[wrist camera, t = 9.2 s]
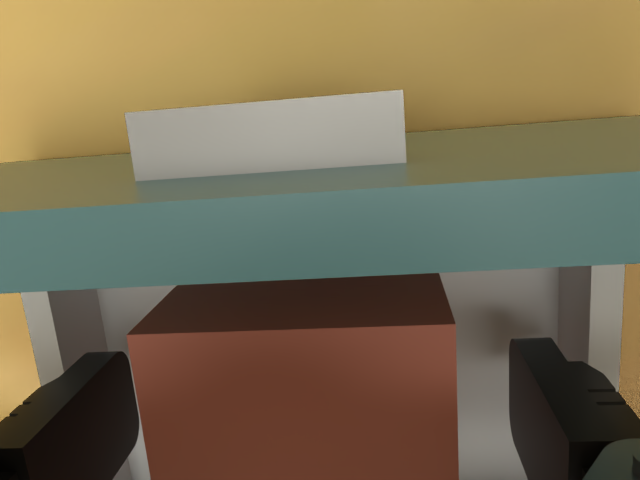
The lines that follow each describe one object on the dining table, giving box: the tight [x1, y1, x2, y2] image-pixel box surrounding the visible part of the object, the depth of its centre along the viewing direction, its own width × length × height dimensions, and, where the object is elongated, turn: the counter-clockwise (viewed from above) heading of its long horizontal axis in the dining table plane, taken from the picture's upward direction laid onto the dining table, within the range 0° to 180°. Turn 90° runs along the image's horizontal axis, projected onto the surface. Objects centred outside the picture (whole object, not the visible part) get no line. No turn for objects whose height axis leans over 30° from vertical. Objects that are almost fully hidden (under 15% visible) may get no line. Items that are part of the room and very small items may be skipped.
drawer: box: [0, 90, 640, 480], centre depth 12 cm, size 15×14×7 cm
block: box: [126, 273, 459, 480], centre depth 12 cm, size 5×5×5 cm
